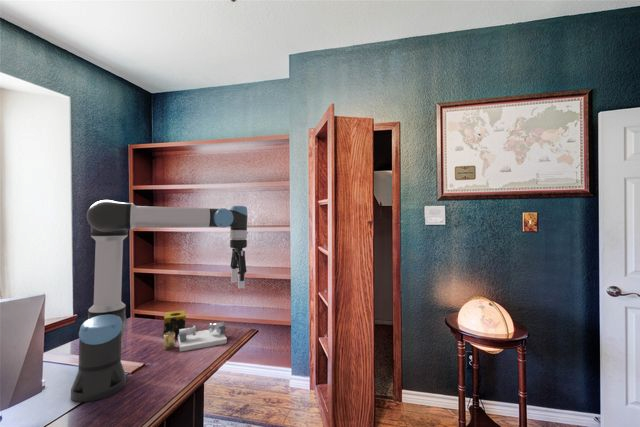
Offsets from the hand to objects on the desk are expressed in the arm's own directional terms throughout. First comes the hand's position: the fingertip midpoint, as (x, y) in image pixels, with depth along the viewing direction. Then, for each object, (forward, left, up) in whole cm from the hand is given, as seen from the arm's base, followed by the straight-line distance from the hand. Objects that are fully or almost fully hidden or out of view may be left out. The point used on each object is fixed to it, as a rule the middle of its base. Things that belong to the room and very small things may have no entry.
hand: (237, 285), depth 137 cm
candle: (-24, +30, -28) cm, 48 cm away
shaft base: (-13, +14, -28) cm, 34 cm away
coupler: (-27, +13, -28) cm, 41 cm away
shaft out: (-6, +15, -26) cm, 30 cm away
